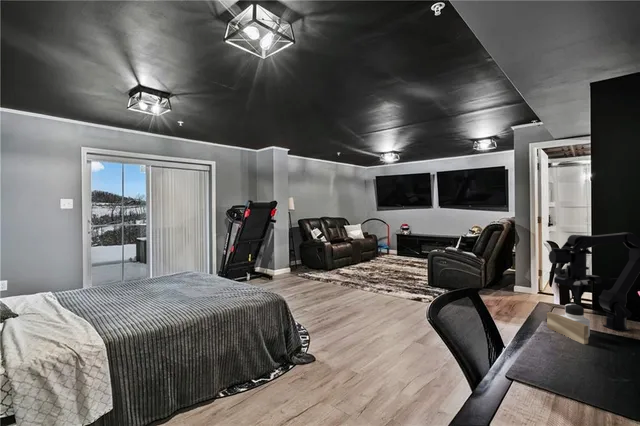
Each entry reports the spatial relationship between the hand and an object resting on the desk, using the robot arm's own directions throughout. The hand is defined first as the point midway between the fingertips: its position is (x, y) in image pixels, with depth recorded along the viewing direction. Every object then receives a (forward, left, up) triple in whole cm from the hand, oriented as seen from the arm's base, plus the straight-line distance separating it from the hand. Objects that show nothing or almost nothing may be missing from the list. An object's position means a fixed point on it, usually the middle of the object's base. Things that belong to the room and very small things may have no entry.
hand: (577, 299), depth 138 cm
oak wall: (+13, +7, -12) cm, 19 cm away
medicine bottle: (+9, +6, -12) cm, 16 cm away
